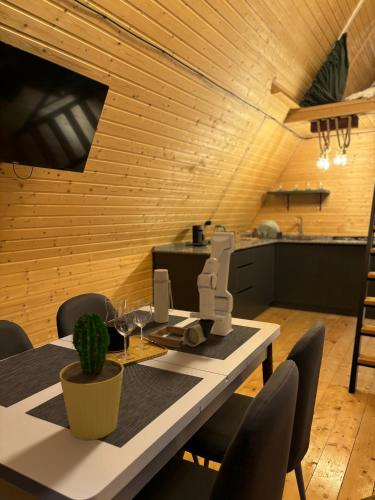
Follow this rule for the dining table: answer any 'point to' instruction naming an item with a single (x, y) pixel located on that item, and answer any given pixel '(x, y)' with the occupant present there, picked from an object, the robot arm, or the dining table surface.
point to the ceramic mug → (193, 335)
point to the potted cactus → (91, 381)
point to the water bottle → (161, 296)
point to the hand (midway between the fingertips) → (206, 337)
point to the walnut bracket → (166, 341)
